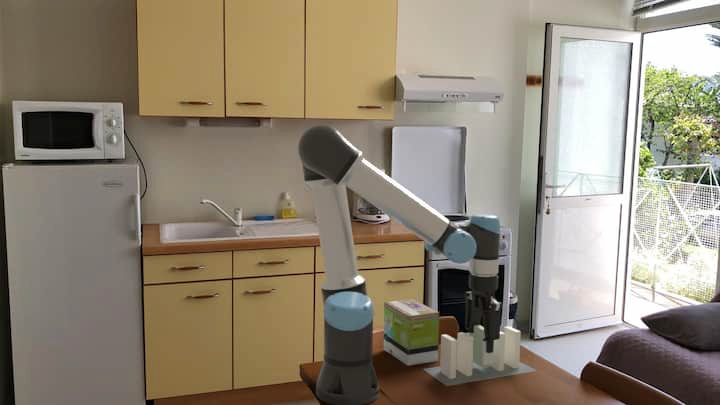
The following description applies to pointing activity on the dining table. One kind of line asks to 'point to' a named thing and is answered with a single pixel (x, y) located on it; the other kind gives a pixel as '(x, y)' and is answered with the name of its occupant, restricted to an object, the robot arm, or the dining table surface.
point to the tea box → (411, 331)
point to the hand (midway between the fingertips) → (480, 359)
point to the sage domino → (478, 345)
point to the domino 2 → (464, 353)
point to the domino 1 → (448, 356)
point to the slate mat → (478, 373)
